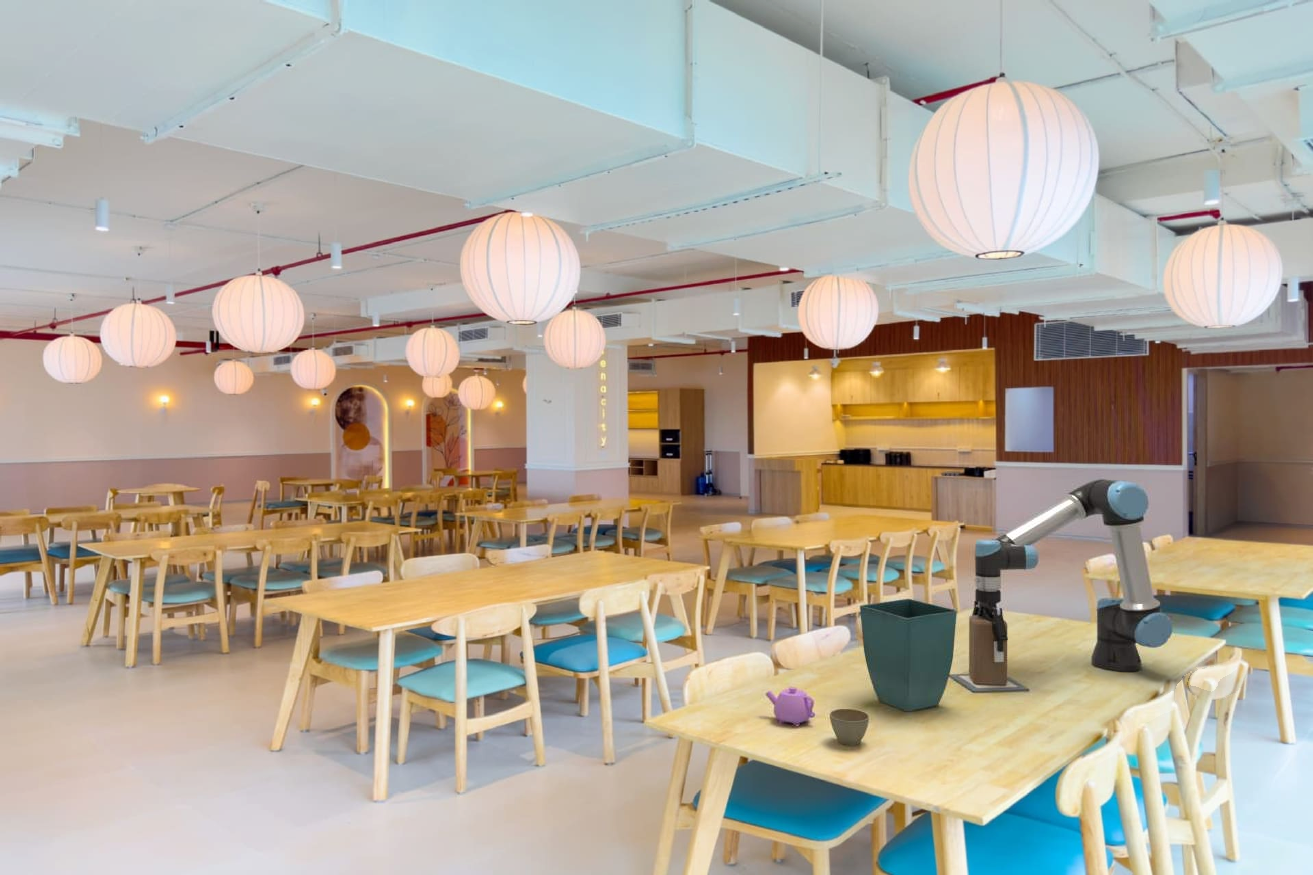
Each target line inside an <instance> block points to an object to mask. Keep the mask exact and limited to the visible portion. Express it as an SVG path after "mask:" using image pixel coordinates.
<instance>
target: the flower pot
mask: <svg viewBox="0 0 1313 875" xmlns="http://www.w3.org/2000/svg"><path fill="white" fill-rule="evenodd" d="M859 611H860V620H861V621H860V622H861V633H862V634H861V635H862V644H863V653H864V659H865V663H866V667H867V671H868V675H869V678H870V680H871V684H872V687H873V690H874V692H875V696H876V698H877V700H878V701H879V702H882V703H885V704H887V705H890V706H892V707H895V708H897V709H899V710H902V711H905V712H912V711H918V710H922V709H927V708H932V707H936V706H939V705H940V703H941V700H942V698H943V696H944V694H945V690H946V687H947V684H948V681H949V678H950V677H949V674H951V668H952V664H953V661H954V660H953V659H954V648H955V637H956V624H957V615H958V614H957V613H958V612H957V610H955V609H953V608H952V609H951V608H947V607H945V606H941V605H937V604H932V603H927V602H923V601H920V600H915V599H911V598H905V599H904V598H903V599H897V600H889V601H883V602H876V603H875V602H874V603H869V604H868V603H867V604H863V605H862V604H861V605H859Z"/></svg>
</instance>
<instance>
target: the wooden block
mask: <svg viewBox="0 0 1313 875" xmlns="http://www.w3.org/2000/svg"><path fill="white" fill-rule="evenodd" d="M992 623H994V624H995V622H991V621H988V620H987V619H986V618H983V616H978V615H972V614H971V615H970V616H968V637H969V638H968V641H969V642H968V674H969V675H970V677H971V678H972V680H973V682H974V683H975V684H982V685H1002V686H1004V685H1006V684H1007V677H1008V640H1005V641H1004V662H994V639H995V637H994V634H993V631H992ZM1004 624H1005V628H1006V632H1007V633H1008V623H1007V622H1006V620H1004Z"/></svg>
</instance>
